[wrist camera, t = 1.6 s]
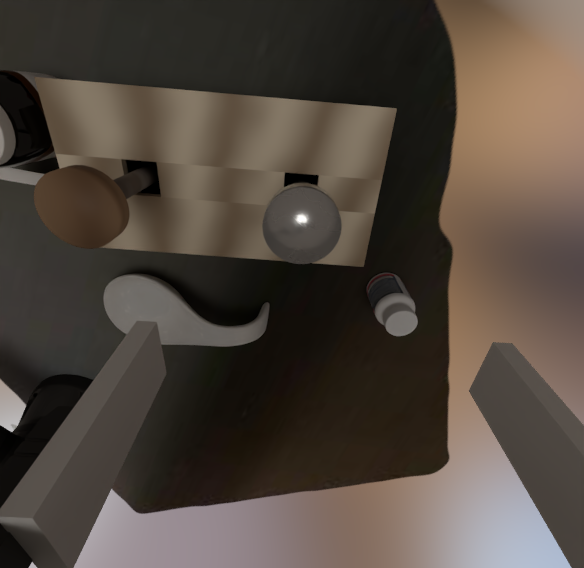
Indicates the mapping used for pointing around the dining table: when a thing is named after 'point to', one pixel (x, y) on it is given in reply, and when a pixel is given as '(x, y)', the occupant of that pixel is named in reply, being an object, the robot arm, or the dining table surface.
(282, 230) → the grey rounded part
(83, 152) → the stand
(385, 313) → the pill bottle
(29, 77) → the spread jar
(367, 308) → the dining table surface
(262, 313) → the spoon rest
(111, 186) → the walnut plunger
